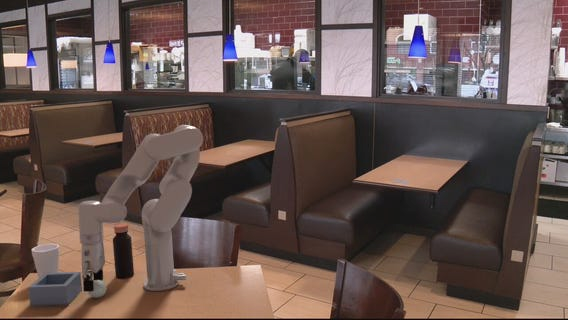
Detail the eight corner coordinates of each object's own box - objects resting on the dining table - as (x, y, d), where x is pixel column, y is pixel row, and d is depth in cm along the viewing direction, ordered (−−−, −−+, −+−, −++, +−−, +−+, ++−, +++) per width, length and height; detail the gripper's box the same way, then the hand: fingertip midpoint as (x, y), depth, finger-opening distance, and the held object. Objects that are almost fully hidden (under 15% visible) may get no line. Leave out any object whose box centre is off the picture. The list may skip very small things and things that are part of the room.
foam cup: (67, 276, 198) (64, 243, 196) (54, 285, 189) (50, 251, 187) (43, 275, 199) (40, 243, 197) (29, 285, 190) (26, 251, 188)
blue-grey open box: (82, 290, 184) (80, 271, 183) (68, 305, 171) (66, 285, 170) (46, 291, 184) (44, 273, 183) (30, 307, 171) (28, 287, 170)
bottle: (136, 276, 195) (132, 226, 192) (117, 280, 192) (113, 229, 189) (131, 271, 201) (128, 221, 198) (114, 275, 198) (109, 224, 195)
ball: (109, 293, 181) (108, 276, 180) (103, 300, 175) (102, 283, 174) (92, 293, 181) (90, 277, 180) (86, 301, 175) (84, 284, 174)
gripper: (94, 245, 166) (96, 295, 168) (110, 230, 183) (112, 276, 185) (70, 245, 166) (73, 295, 168) (89, 230, 183) (91, 276, 185)
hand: (93, 285), depth 177 cm, fingers open, 9 cm apart
